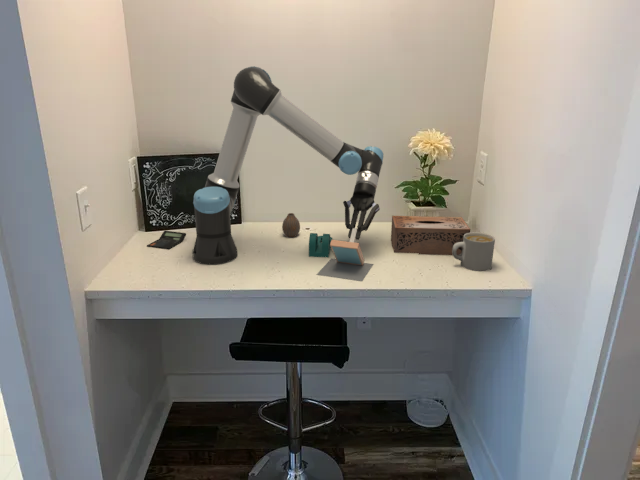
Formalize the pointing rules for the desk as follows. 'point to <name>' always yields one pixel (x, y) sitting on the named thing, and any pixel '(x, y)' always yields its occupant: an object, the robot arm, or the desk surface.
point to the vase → (291, 225)
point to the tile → (347, 252)
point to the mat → (345, 270)
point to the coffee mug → (475, 251)
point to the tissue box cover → (427, 234)
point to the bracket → (319, 245)
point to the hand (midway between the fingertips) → (351, 247)
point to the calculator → (168, 240)
